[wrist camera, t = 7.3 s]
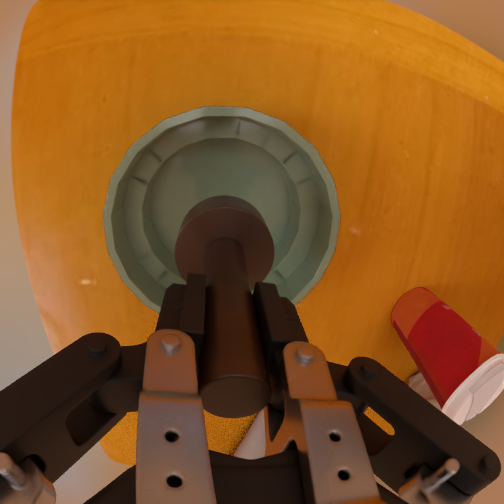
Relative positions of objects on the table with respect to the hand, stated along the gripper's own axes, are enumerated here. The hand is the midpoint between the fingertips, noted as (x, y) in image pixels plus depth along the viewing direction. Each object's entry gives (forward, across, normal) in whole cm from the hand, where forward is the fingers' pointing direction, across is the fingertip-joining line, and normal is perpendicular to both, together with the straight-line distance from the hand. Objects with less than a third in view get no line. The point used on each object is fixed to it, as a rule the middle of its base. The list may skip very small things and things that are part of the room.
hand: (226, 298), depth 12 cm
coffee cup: (+14, -23, +8) cm, 28 cm away
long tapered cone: (+14, -8, +31) cm, 35 cm away
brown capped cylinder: (+6, 0, 0) cm, 6 cm away
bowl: (+13, 0, 0) cm, 13 cm away
